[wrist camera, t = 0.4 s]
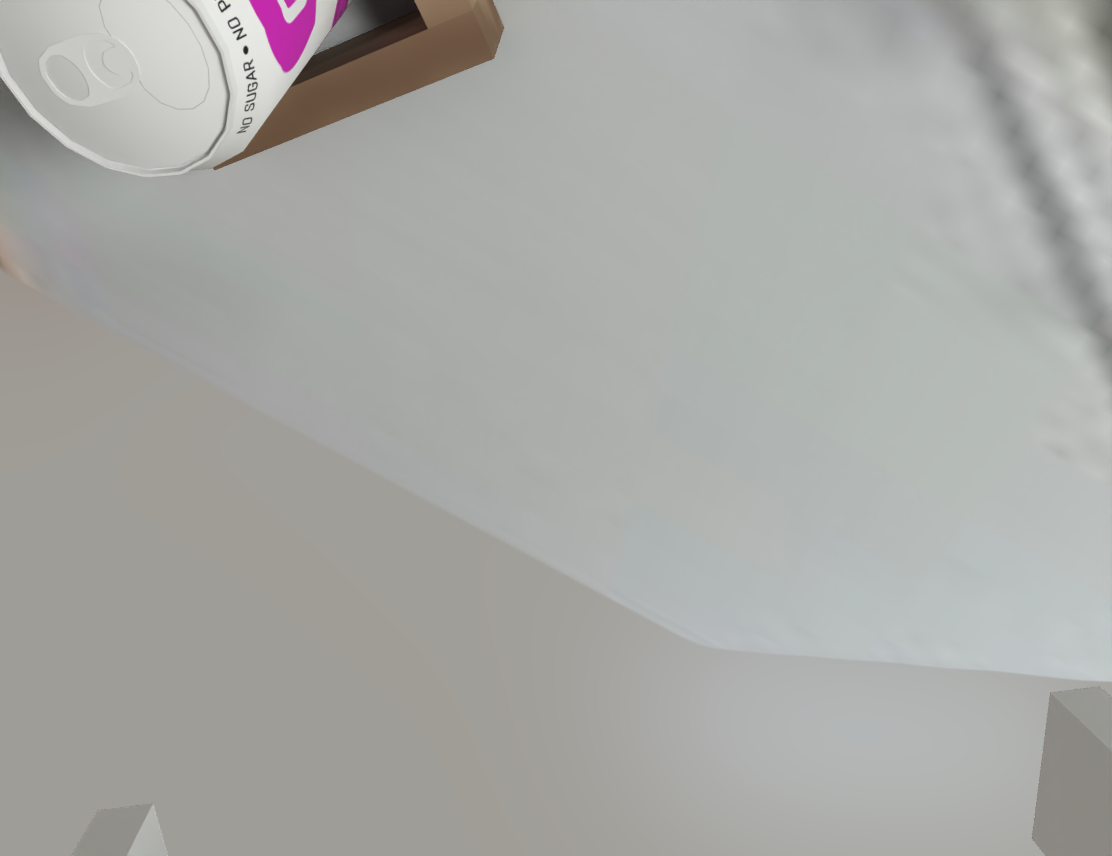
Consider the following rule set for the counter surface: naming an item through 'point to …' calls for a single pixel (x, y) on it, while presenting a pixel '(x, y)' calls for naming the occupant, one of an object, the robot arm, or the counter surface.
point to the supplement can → (157, 73)
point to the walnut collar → (382, 67)
